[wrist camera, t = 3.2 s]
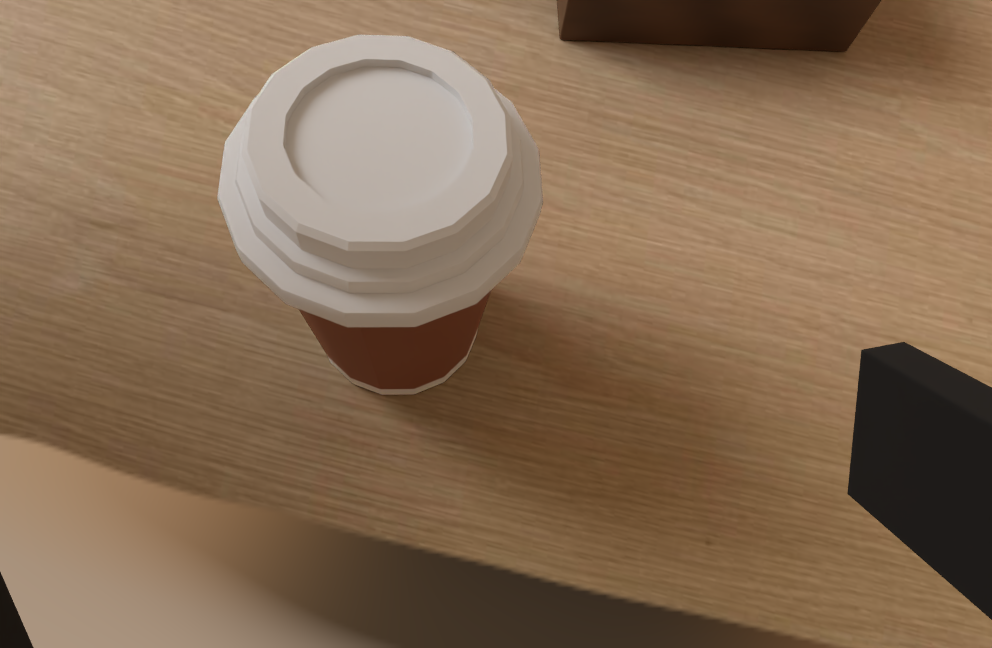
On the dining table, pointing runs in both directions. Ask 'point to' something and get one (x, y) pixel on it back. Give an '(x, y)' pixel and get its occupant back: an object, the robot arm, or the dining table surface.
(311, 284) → the coffee cup
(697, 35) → the stand
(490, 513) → the dining table surface
